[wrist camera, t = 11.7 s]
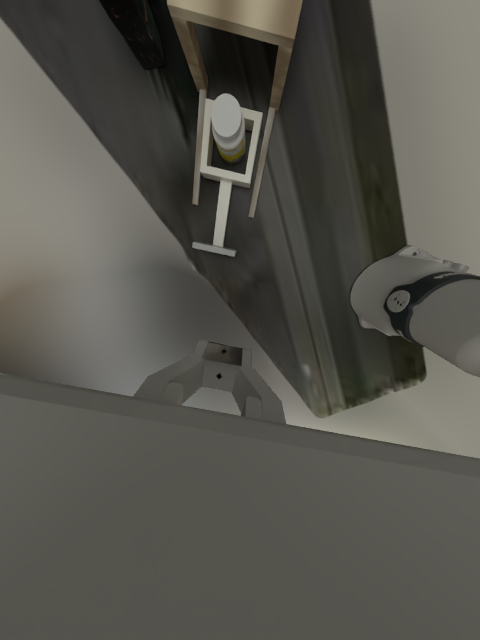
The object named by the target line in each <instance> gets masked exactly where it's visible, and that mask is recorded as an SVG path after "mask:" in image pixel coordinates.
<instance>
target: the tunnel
mask: <svg viewBox="0 0 480 640" xmlns="http://www.w3.org/2000/svg"><path fill="white" fill-rule="evenodd" d="M302 1H303V0H167V5H168V8H169V11H170V14H171V17H172V19H173V22H174V25H175V28H176V31H177V34H178V37H179V39H180V42H181V45H182V48H183V51H184V54H185V56H186V59H187V62H188V65H189V68H190V71H191V74H192V76H193V79H194V82H195V85H196V88H197V91H198V92H200V96H199V111H198V127H197V142H196V157H195V173H194V188H193V204H194V205H199V193H200V180H201V173H200V165H201V152H202V139H203V126H204V113H205V100H206V99H207V90H208V76H207V73H206V69H205V65H204V61H203V57H202V53H201V49H200V46H199V42H198V38H197V34H196V30H195V26H194V23H198V24H202V25H205V26H209V27H213V28H216V29H220V30H224V31H227V32H231V33H235V34H238V35H242V36H246V37H249V38H253V39H257V40H260V41H264V42H268V43H271V44H275V45H279V47H278V53H277V60H276V67H275V73H274V80H273V86H272V93H271V100H270V106H269V112H268V117H267V122H266V127H265V133H264V138H263V143H262V148H261V154H260V159H259V164H258V169H257V175H256V180H255V185H254V190H253V195H252V201H251V206H250V211H249V216H248V217H251V218H254V213H255V208H256V203H257V198H258V193H259V188H260V183H261V178H262V173H263V168H264V163H265V158H266V154H267V149H268V144H269V139H270V134H271V129H272V124H273V119H274V114H275V111H276V112H278V110H279V106H280V101H281V97H282V93H283V88H284V84H285V79H286V75H287V70H288V66H289V61H290V57H291V53H292V48H293V44H294V39H295V34H296V30H297V25H298V20H299V15H300V11H301V6H302Z"/></svg>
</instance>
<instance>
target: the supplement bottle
mask: <svg viewBox="0 0 480 640" xmlns="http://www.w3.org/2000/svg"><path fill="white" fill-rule="evenodd" d="M211 121H212V132H213V136H214V139H215V142H216V144H217V147H218V150H219V153H220V155H221V157H222V159H223V160H224V161H225V162H227V163H229V164H236V163H238V162H239V161H241V159H242V158H243V156H244V154H245V150H246V136H245V120H244V116H243V114H242V112H241V108H240V105H239V103H238V101H237V100H236V98H235V97H234V96H232V95H230V94H222V95H220V96H218V97H217V98H216V100H215V101H214V103H213V106H212V109H211Z"/></svg>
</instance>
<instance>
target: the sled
mask: <svg viewBox="0 0 480 640" xmlns="http://www.w3.org/2000/svg"><path fill="white" fill-rule="evenodd" d="M213 103H214V100H210V99H206V100H205V113H204V126H203V139H202V152H201V165H200V173H201V174H202V175H203V177H204V178H208V179H212V180H216V181H220V191H219V199H218V207H217V216H216V224H215V232H214V241H213V244H209V243H205V242H193V247H192V248H196V249H201V250H205V251H210V252H215V253H219V254H224V255H228V256H233V257H235V256H236V254H237V250H236V249H232V248H227V247H223V246H224V239H225V232H226V226H227V219H228V212H229V205H230V198H231V191H232V184H233V185H237V186H242V187H246V188H250V184H251V179H252V173H253V168H254V162H255V157H256V151H257V146H258V141H259V135H260V130H261V123H262V114H263V113H261V112H257V111H253V110H249V109H246V108H242V107H240V108H241V112H242V114H243V116H244V120H245V130H248V131H252V138H251V144H250V149H249V155H248V161H247V167H246V173H245V175H244V174H239V173H235V172H231V171H227V170H223V169H219V168H214V167H211V161H212V150H213V140H214V136H213V132H212V121H211V109H212V106H213Z"/></svg>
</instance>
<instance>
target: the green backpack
mask: <svg viewBox="0 0 480 640" xmlns="http://www.w3.org/2000/svg"><path fill="white" fill-rule="evenodd" d="M99 1H100V3H101V4H102V6H103V8H104V9H105V11H106V13H107V14H108V16H109V18H110V19H111V21H112V22H113V23H114V25H115V26H116V28H117V29H118V30H119V31H120V33H121V34H122V36H123V37H124V39H125V40H126V42H127V44H128V45H129V47H130V49H131V50H132V52H133V53H134V55H135V57H136V58H137V59H138V61H139V62H140V64H141V65H142V67H143V68H144V69H151V68H156V67H160V66H166V64H165V59H164V54H163V48H162V43H161V38H160V35H159V32H158V29H157V26H156V24H155V21H154V18H153V15H152V12H151V9H150V7H149V4H148V2H147V0H99Z"/></svg>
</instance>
